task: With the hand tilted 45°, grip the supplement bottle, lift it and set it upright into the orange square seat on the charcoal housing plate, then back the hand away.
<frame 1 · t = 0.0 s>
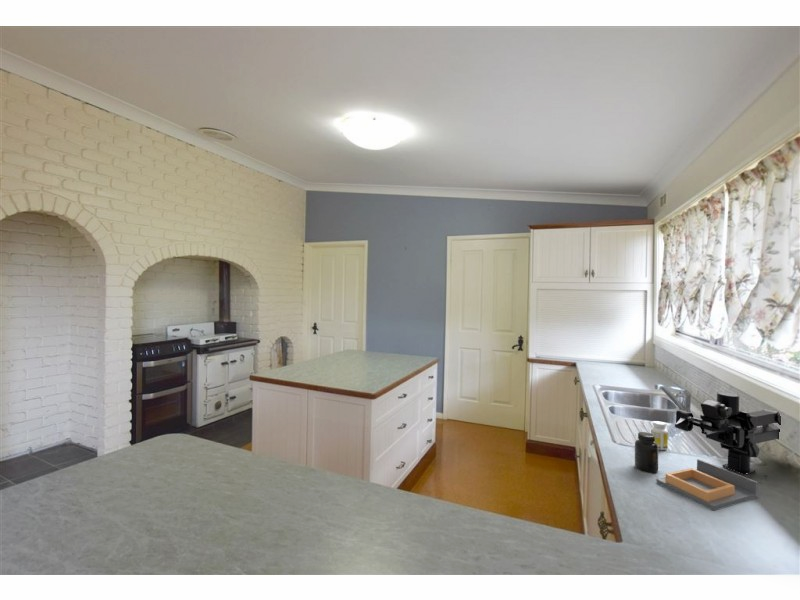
hand: (690, 430, 120), 17 cm above the countertop, tool horizontal, fingers open, 9 cm apart
housing: (705, 489, 115), on the countertop
supplement bottle 2: (659, 448, 147), on the countertop
supplement bottle: (646, 469, 129), on the countertop
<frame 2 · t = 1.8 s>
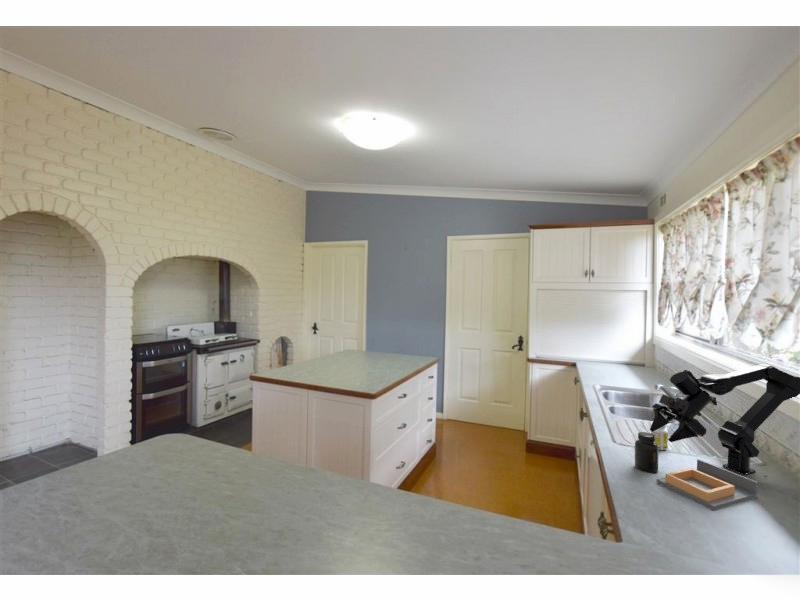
hand: (659, 435, 129), 12 cm above the countertop, tool tilted 45°, fingers open, 9 cm apart
nothing on the countertop moved.
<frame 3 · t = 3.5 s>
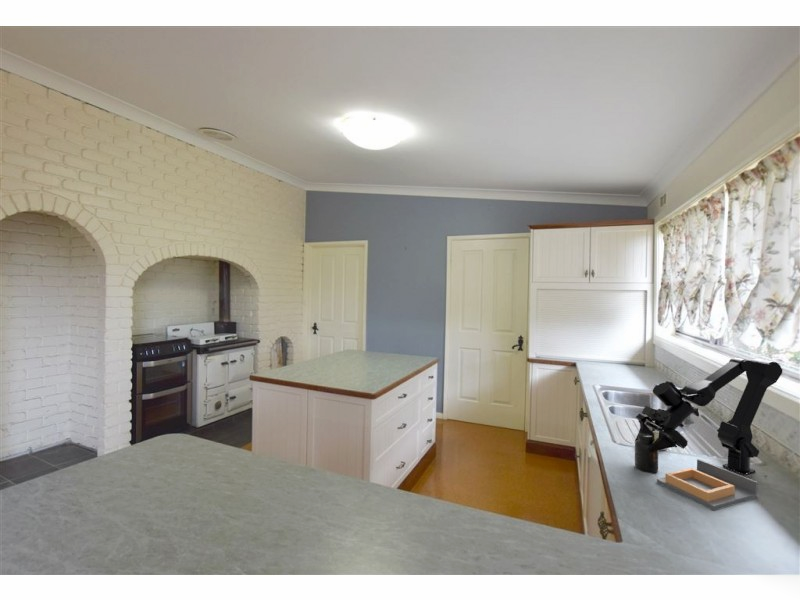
hand: (642, 446, 129), 8 cm above the countertop, tool tilted 45°, fingers closed on supplement bottle, 7 cm apart
supplement bottle: (646, 469, 129), on the countertop, touching gripper
everything else where it was.
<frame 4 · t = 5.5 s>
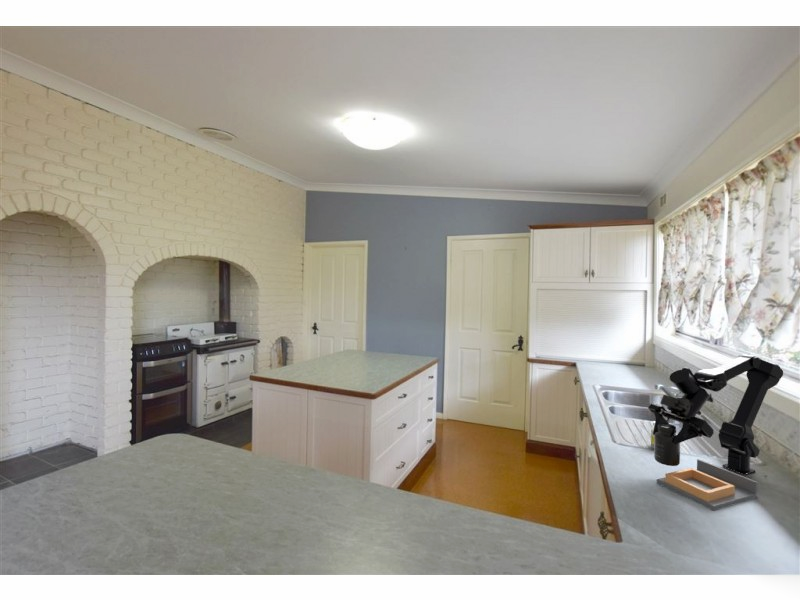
hand: (663, 439, 121), 13 cm above the countertop, tool tilted 45°, fingers closed on supplement bottle, 7 cm apart
supplement bottle: (666, 462, 122), point 5 cm above the countertop, touching gripper
everything else where it was.
when the fingers open (10 cm above the countertop, at t = 7.4 s): supplement bottle drops 1 cm, resting on housing.
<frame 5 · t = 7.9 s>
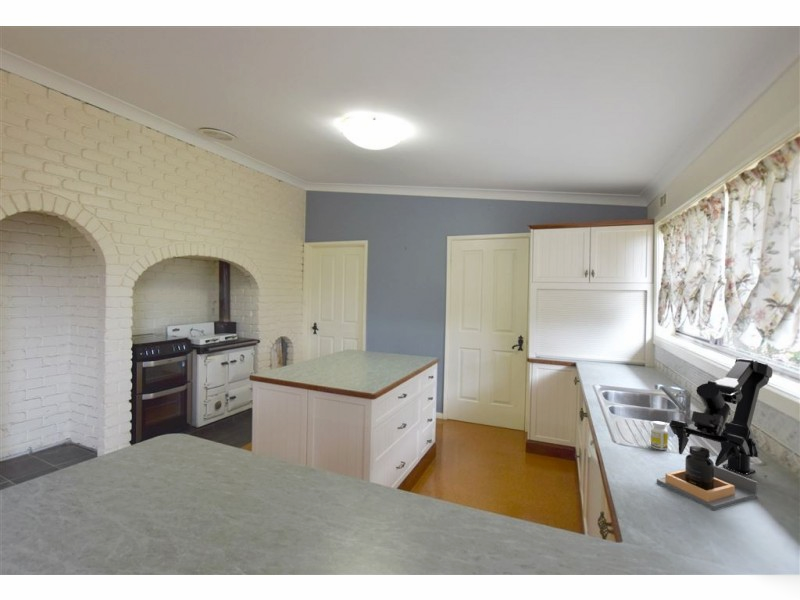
hand: (697, 459, 113), 10 cm above the countertop, tool tilted 45°, fingers open, 9 cm apart
supplement bottle: (698, 488, 114), point 1 cm above the countertop, touching housing
everything else where it was.
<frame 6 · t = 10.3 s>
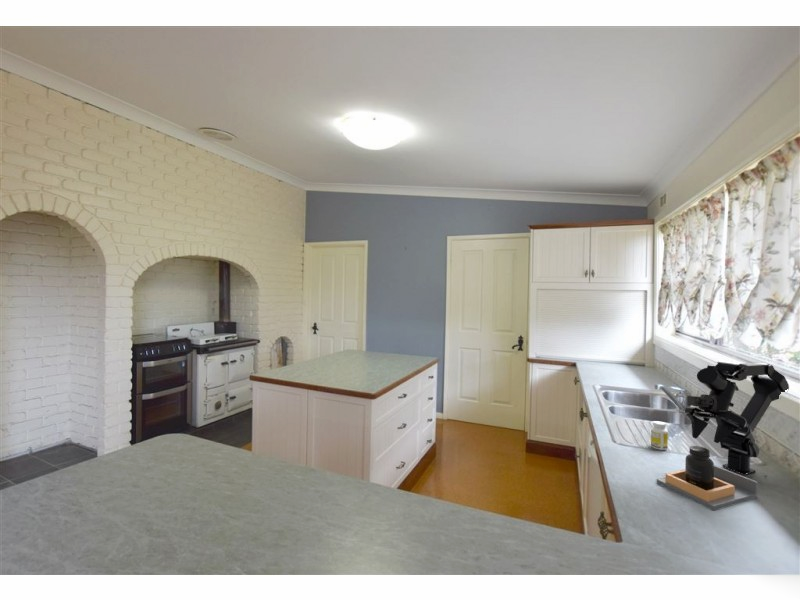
hand: (704, 440, 122), 13 cm above the countertop, tool tilted 30°, fingers open, 9 cm apart
nothing on the countertop moved.
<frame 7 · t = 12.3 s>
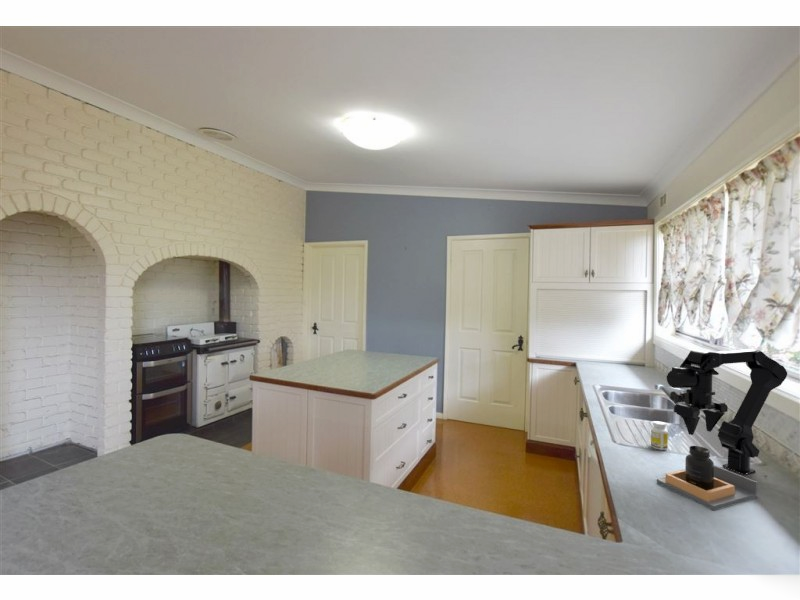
hand: (700, 432, 128), 13 cm above the countertop, tool pointing down, fingers open, 9 cm apart
nothing on the countertop moved.
at the end: supplement bottle 0.1 cm from the target spot on the housing, point 1.0 cm above the housing's base; supplement bottle tilted 0°; the gripper is holding nothing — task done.
